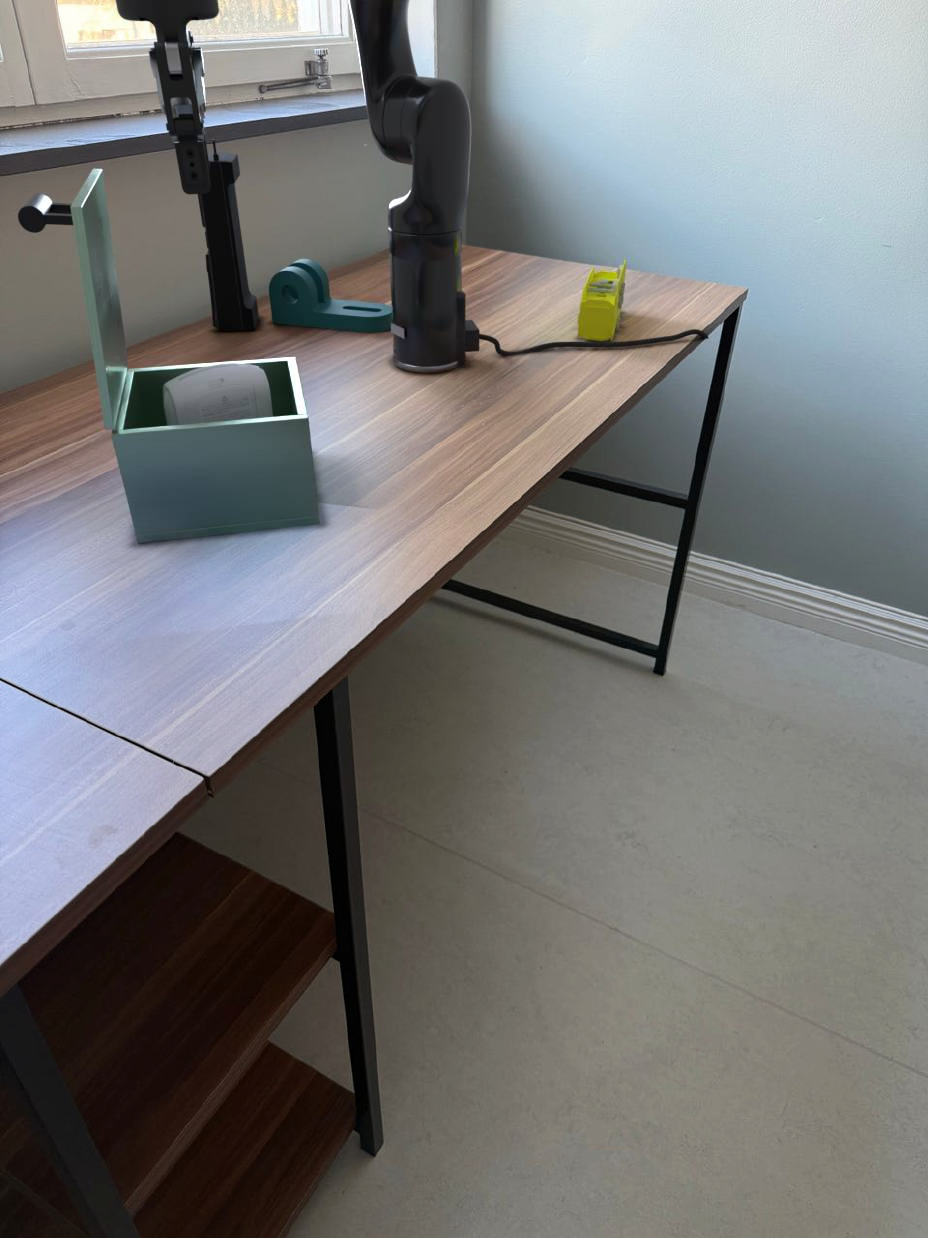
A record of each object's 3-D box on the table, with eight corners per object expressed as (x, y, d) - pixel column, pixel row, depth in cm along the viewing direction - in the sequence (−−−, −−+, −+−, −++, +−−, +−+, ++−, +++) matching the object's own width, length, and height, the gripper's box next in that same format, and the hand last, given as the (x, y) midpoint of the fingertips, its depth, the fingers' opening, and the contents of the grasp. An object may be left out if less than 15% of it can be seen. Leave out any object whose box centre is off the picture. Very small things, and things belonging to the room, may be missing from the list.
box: (305, 453, 98) (295, 356, 91) (319, 524, 85) (308, 417, 79) (147, 468, 94) (125, 368, 88) (137, 543, 82) (110, 434, 76)
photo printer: (271, 465, 93) (255, 350, 86) (288, 481, 90) (273, 363, 83) (175, 490, 89) (149, 370, 81) (189, 508, 86) (164, 385, 78)
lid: (102, 168, 78) (33, 164, 76) (81, 206, 65) (-1, 202, 64) (128, 364, 88) (67, 364, 87) (114, 429, 75) (43, 430, 74)
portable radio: (220, 315, 136) (191, 131, 122) (259, 314, 137) (235, 131, 122) (212, 332, 130) (181, 140, 115) (254, 331, 130) (228, 140, 116)
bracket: (272, 322, 134) (266, 268, 129) (291, 309, 139) (285, 256, 134) (385, 334, 130) (382, 278, 125) (400, 319, 135) (398, 266, 130)
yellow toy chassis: (614, 346, 126) (621, 286, 121) (574, 343, 127) (579, 283, 122) (624, 312, 139) (630, 256, 134) (587, 309, 140) (592, 254, 135)
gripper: (210, -61, 60) (246, 198, 70) (209, -58, 71) (240, 165, 81) (94, -61, 59) (147, 203, 69) (112, -58, 70) (155, 169, 80)
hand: (197, 182), depth 75 cm, fingers open, 8 cm apart
